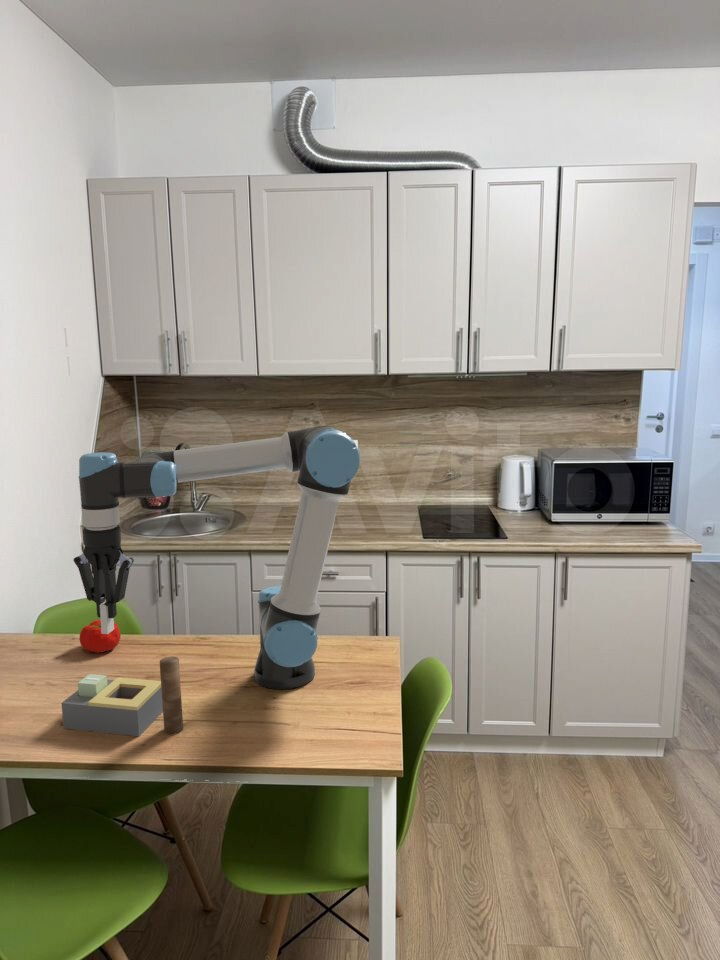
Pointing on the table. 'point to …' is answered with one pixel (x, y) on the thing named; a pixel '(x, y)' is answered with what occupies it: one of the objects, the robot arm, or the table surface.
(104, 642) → the tomato
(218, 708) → the table surface
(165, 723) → the rounded rod
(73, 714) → the breaker box
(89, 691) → the on button
